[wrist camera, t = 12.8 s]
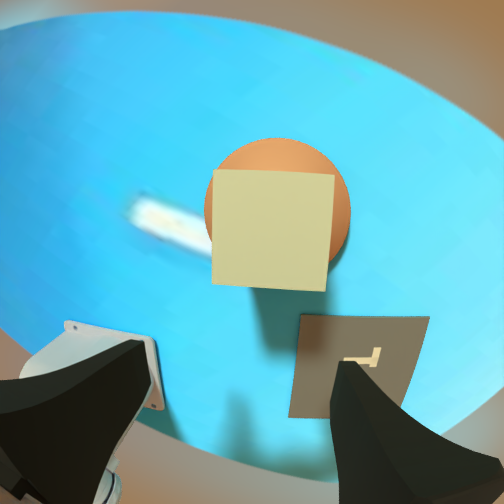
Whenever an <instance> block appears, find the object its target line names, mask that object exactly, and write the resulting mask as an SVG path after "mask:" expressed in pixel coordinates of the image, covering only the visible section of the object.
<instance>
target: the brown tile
mask: <svg viewBox="0 0 504 504" xmlns="http://www.w3.org/2000/svg"><path fill="white" fill-rule="evenodd" d="M429 319H430V317H429V316H409V317H390V316H338V315H312V314H301V319H300V329H299V338H298V347H297V355H296V363H295V371H294V379H293V386H292V394H291V401H290V408H289V414H288V418H330V399H331V394H332V390H333V386H334V381H335V377H336V372H337V368H338V363H339V361H356V362H357V363H358V364H359V365H360V367H361V368H362V369H363V370H364V371H365V372H366V373H367V375H368V376H369V377H370V378H371V379H372V380H373V381H374V382H375V383H376V384H377V386H378V387H379V388H380V389H381V390H382V391H383V392H384V393H385V394H386V395H387V396H388V397H389V398H390V399H391V400H392V401H393V402H395V403H396V404H397V405H398V406H399V407H401V404H402V402H403V399H404V397H405V394H406V392H407V389H408V386H409V384H410V381H411V378H412V375H413V372H414V369H415V366H416V363H417V360H418V357H419V354H420V351H421V348H422V344H423V341H424V337H425V334H426V330H427V326H428V323H429Z"/></svg>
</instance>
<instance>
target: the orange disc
mask: <svg viewBox="0 0 504 504" xmlns="http://www.w3.org/2000/svg"><path fill="white" fill-rule="evenodd" d="M217 169H228V170H265V171H287V172H304V173H318V174H331V175H335V181H334V199H333V214H332V227H331V239H330V250H329V261H328V263H329V262H330V261H331V260H332V259H333V258H334V257H335V255H336V254H337V253H338V251H339V250H340V248H341V246H342V245H343V243H344V240H345V238H346V236H347V232H348V229H349V224H350V217H351V206H350V198H349V194H348V190H347V187H346V185H345V182H344V180H343V178H342V176H341V174H340V173H339V171H338V170H337V168H336V167H335V166H334V164H333V163H332V162H331V161H330V160H329V159H328V158H327V157H326V156H325V155H323V154H322V153H321V152H319V151H318V150H317V149H315V148H313V147H311V146H309V145H307V144H305V143H302V142H300V141H296V140H292V139H285V138H268V139H262V140H258V141H254V142H251V143H249V144H247V145H244V146H242V147H241V148H239V149H237V150H236V151H234V152H233V153H232V154H230V155H229V156H228V157H227V158H226V159H225V160H224V161H223V162H222V163H221V164H220V166H219V167H218V168H217ZM212 201H213V177H212V179H211V181H210V183H209V186H208V189H207V192H206V197H205V204H204V216H205V223H206V228H207V231H208V234H209V237H210V239H211V242H212Z"/></svg>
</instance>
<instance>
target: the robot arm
mask: <svg viewBox="0 0 504 504" xmlns="http://www.w3.org/2000/svg"><path fill="white" fill-rule="evenodd" d="M64 327H65V332H63V333H62V334H61V335H60V336H58V337H57V338H56V339H54V340H53V341H52V342H50V343H49V344H48V345H46V346H45V347H44V348H43V349H41V350H40V351H39V352H37V353H36V354H35V355H34V356H32V357H31V358H30V359H29V360H28V361H27V362H26V364H25V365H24V367H23V369H22V371H21V374H20V377H19V379H13V380H0V504H119V502H120V499H121V488H122V485H121V479H120V477H119V476H118V475H117V474H116V473H114V471H115V470H116V468H117V466H118V464H119V462H120V461H119V460H118V459H117V458H116V457H115V456H114V454H115V452H116V450H117V449H118V447H119V445H120V444H121V442H122V440H123V439H124V437H125V435H126V434H127V432H128V431H129V429H130V427H131V426H132V424H133V423H134V421H135V419H136V418H137V416H138V415H139V413H140V411H141V410H142V408H143V407H146V408H151V409H155V410H159V411H162V410H164V408H165V403H164V398H163V393H162V387H161V381H160V375H159V369H158V362H157V355H156V348H155V342H154V340H153V338H151V337H150V336H145V335H139V334H133V333H128V332H123V331H117V330H112V329H107V328H103V327H98V326H93V325H89V324H84V323H80V322H75V321H71V320H66V321H65V322H64ZM76 327H77V328H76ZM141 340H143V341H141ZM330 426H331V433H332V439H333V445H334V451H335V457H336V463H337V470H338V478H339V504H492V503H493V502H494V501H495V500H496V499H497V498H498V497H499V496H500V495H501V494H502V493H503V492H504V468H503V466H502V464H501V462H500V461H499V459H498V458H495V457H491V456H488V455H484V454H481V453H478V452H474V451H472V450H469V449H467V448H464V447H462V446H460V445H457V444H455V443H453V442H451V441H449V440H447V439H445V438H443V437H441V436H440V435H438V434H436V433H435V432H433V431H431V430H430V429H428V428H426V427H425V426H423V425H422V424H421V423H419V422H418V421H416V420H415V419H414V418H412V417H411V416H410V415H408V414H407V413H406V412H405V411H404V410H402V409H401V408H400V407H399V406H398V405H397V404H396V403H395V402H393V401H392V400H391V399H390V398H389V397H388V396H387V395H386V394H385V393H384V392H383V391H382V390H381V389H380V388H379V387H378V386H377V384H376V383H375V382H374V381H373V380H372V379H371V378H370V377H369V376H368V375H367V373H366V372H365V371H364V370H363V369H362V368H361V367H360V365H359V364H358V363H357V362H356V361H339V363H338V368H337V372H336V377H335V381H334V386H333V390H332V394H331V399H330Z"/></svg>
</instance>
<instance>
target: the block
mask: <svg viewBox="0 0 504 504" xmlns="http://www.w3.org/2000/svg"><path fill="white" fill-rule="evenodd" d="M334 181H335V175H331V174H318V173H304V172H287V171H265V170H228V169H213V201H212V284H219V285H231V286H244V287H258V288H273V289H289V290H306V291H324V292H325V288H326V279H327V270H328V261H329V250H330V239H331V227H332V214H333V199H334Z"/></svg>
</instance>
